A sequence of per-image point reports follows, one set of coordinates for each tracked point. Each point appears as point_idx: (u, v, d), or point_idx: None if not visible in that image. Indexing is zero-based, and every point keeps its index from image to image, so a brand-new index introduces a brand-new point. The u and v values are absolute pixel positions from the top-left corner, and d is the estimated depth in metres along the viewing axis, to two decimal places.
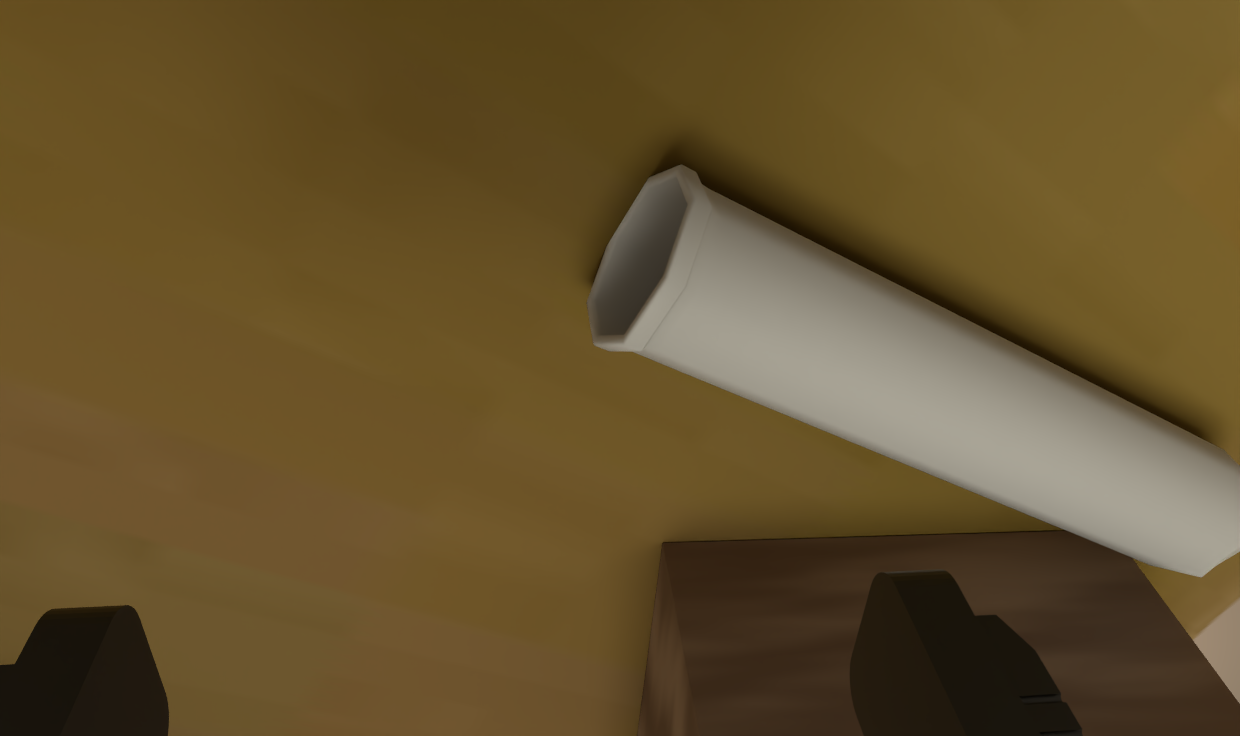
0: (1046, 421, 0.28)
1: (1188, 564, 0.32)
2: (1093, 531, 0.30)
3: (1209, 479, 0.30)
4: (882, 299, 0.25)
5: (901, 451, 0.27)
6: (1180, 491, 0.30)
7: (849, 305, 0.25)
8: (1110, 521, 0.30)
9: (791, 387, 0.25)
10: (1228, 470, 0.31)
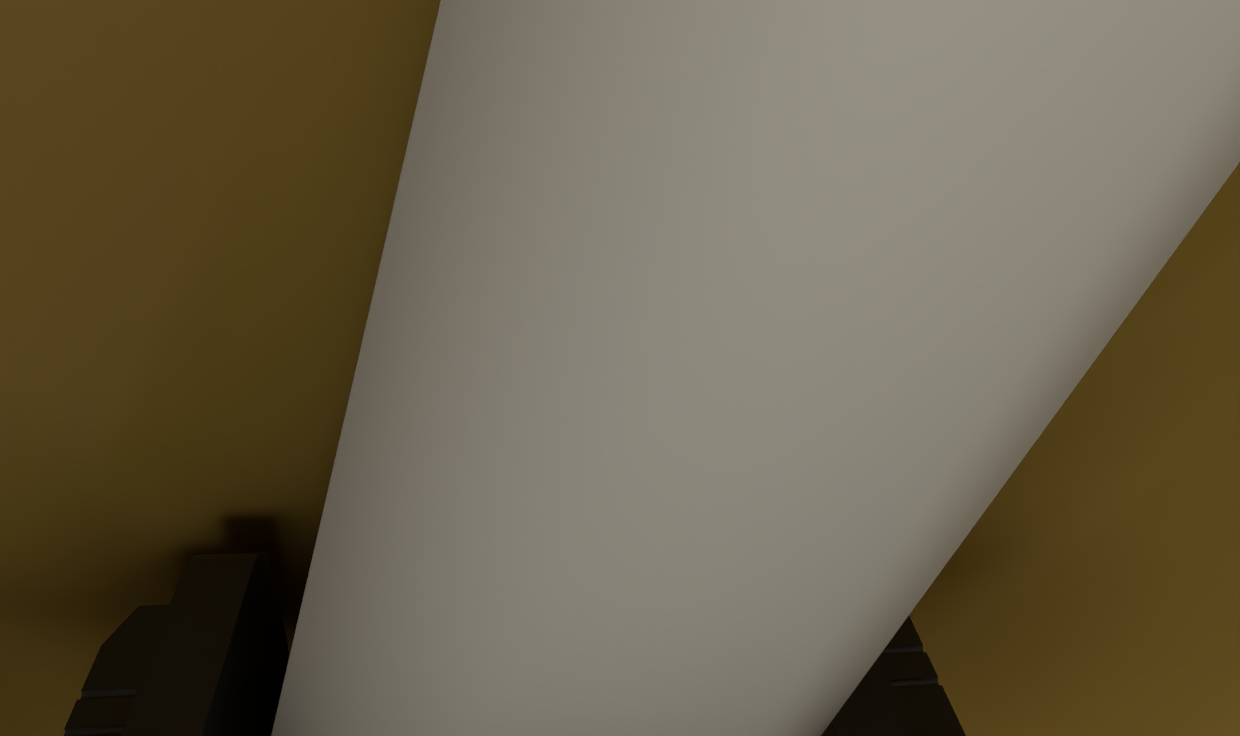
0: None
1: None
2: None
3: None
4: (1143, 289, 0.06)
5: (486, 673, 0.06)
6: None
7: (1225, 154, 0.05)
8: None
9: None
10: None
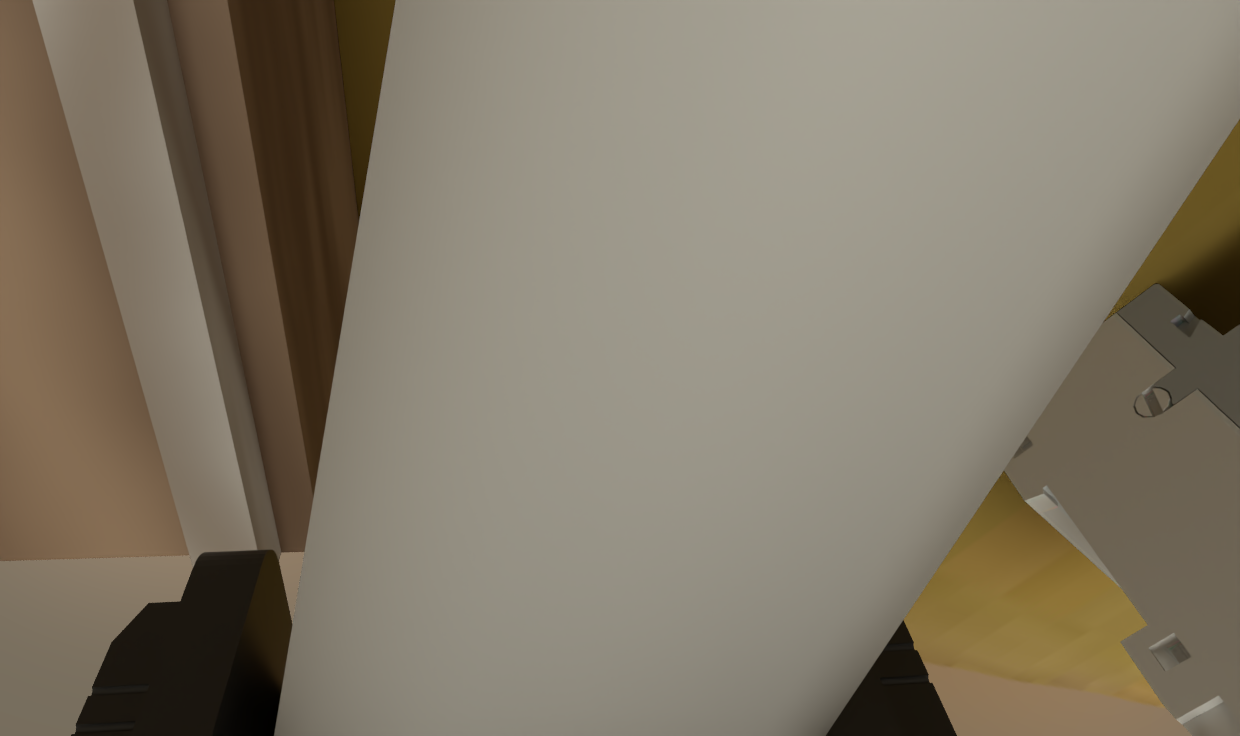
0: None
1: None
2: None
3: None
4: (1131, 274, 0.06)
5: (470, 687, 0.06)
6: None
7: (1206, 133, 0.05)
8: None
9: None
10: None
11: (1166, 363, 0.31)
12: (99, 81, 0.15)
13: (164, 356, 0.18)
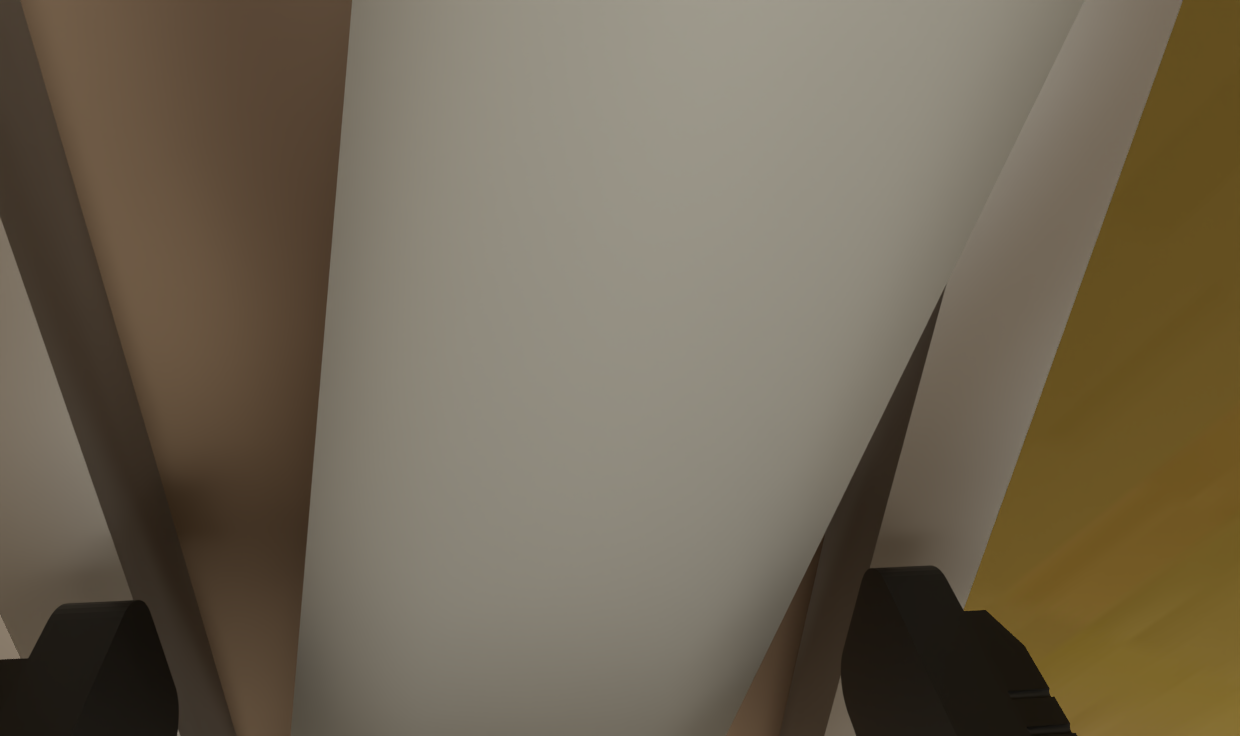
0: None
1: None
2: None
3: None
4: (1004, 162, 0.07)
5: (452, 537, 0.07)
6: None
7: (1037, 28, 0.06)
8: None
9: None
10: None
11: None
12: (992, 335, 0.10)
13: None
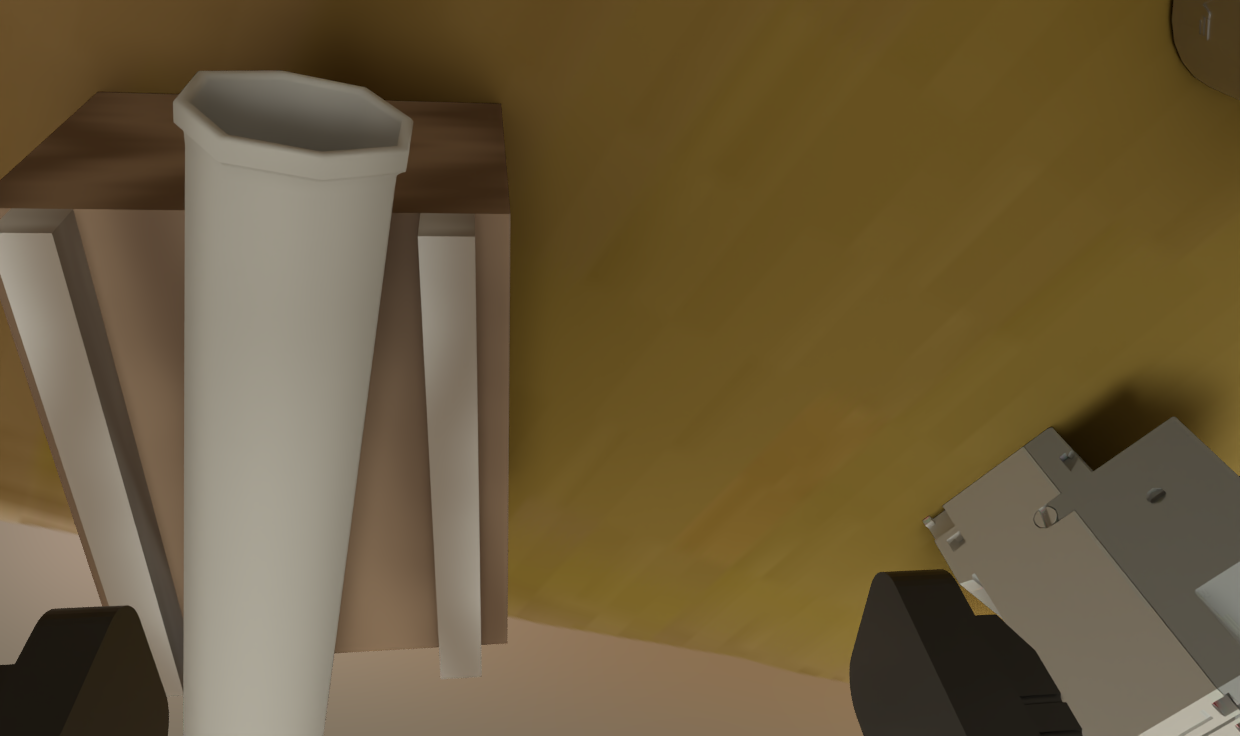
0: (311, 575, 0.27)
1: None
2: (211, 682, 0.28)
3: (310, 724, 0.31)
4: (369, 373, 0.24)
5: (216, 477, 0.24)
6: (291, 714, 0.30)
7: (355, 347, 0.23)
8: (231, 687, 0.29)
9: (242, 338, 0.22)
10: (323, 730, 0.32)
11: (1055, 489, 0.45)
12: (450, 413, 0.28)
13: (451, 543, 0.31)
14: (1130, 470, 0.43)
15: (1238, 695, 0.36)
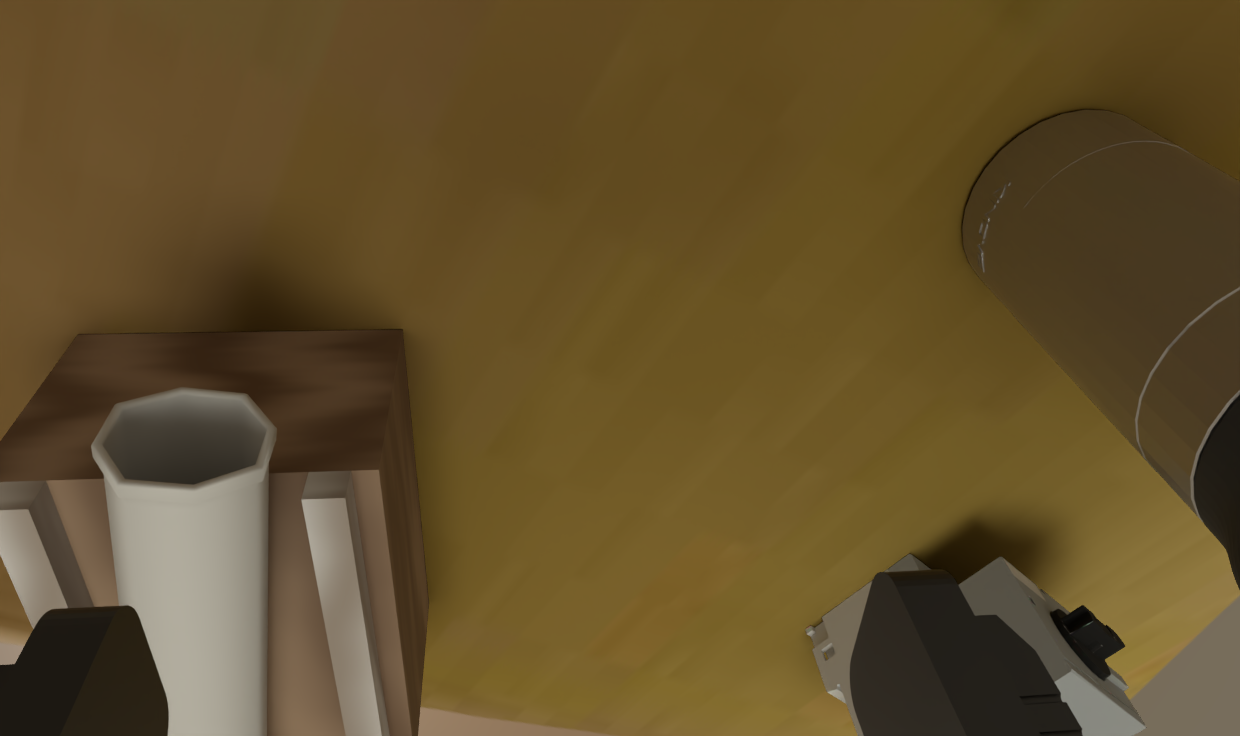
0: None
1: None
2: None
3: None
4: (257, 603, 0.32)
5: None
6: None
7: (241, 591, 0.31)
8: None
9: (153, 596, 0.30)
10: None
11: None
12: (341, 612, 0.36)
13: (353, 701, 0.39)
14: None
15: None
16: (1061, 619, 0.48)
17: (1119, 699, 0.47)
